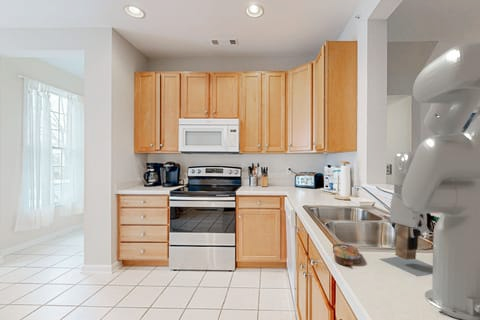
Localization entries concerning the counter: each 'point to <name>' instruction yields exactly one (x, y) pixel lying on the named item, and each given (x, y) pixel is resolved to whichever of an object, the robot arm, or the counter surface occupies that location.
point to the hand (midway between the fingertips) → (406, 246)
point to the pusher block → (404, 243)
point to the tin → (346, 254)
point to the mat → (410, 265)
